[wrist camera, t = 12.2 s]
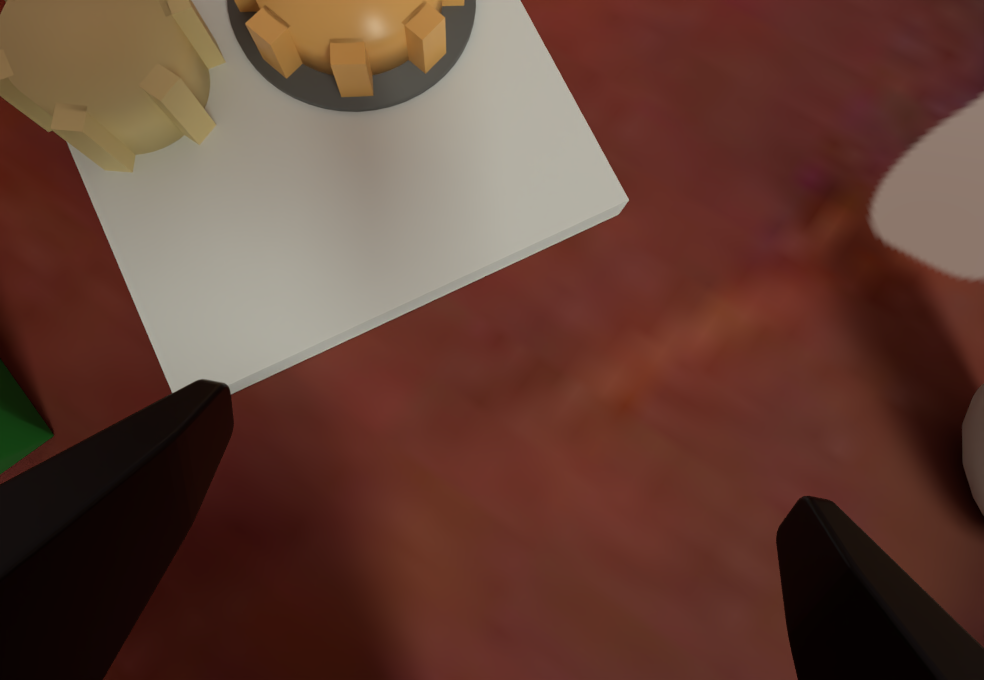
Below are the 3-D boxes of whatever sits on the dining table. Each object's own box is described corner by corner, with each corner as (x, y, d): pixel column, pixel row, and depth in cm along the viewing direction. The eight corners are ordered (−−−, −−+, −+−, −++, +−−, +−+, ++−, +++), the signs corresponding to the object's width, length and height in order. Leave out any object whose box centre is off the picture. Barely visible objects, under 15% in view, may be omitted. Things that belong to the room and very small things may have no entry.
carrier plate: (185, 415, 22) (117, 410, 18) (16, 15, 25) (-82, -79, 20) (618, 214, 25) (654, 165, 20) (428, -137, 27) (422, -252, 22)
